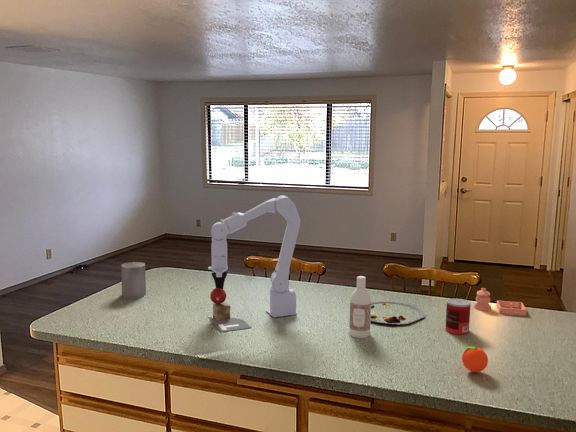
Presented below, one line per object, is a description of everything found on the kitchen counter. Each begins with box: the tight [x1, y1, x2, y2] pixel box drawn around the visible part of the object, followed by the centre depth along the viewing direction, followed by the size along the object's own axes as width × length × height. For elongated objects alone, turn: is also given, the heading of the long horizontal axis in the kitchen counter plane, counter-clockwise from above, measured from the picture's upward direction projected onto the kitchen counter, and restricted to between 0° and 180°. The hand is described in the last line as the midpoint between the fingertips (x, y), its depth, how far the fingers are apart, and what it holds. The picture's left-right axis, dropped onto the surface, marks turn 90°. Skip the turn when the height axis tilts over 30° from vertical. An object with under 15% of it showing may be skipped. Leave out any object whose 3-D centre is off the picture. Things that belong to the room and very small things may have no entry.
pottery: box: [473, 287, 527, 317], centre depth 192 cm, size 18×10×10 cm, turn 74°
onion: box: [209, 287, 227, 304], centre depth 183 cm, size 6×6×8 cm
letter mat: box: [207, 317, 252, 333], centre depth 180 cm, size 11×18×1 cm, turn 24°
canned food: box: [445, 297, 471, 336], centre depth 171 cm, size 8×8×11 cm
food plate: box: [370, 300, 426, 326], centre depth 188 cm, size 25×23×4 cm
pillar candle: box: [120, 261, 147, 299], centre depth 209 cm, size 10×10×15 cm
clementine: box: [458, 346, 489, 373], centre depth 142 cm, size 8×7×7 cm
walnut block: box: [212, 301, 231, 320], centre depth 184 cm, size 5×5×5 cm
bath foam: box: [348, 275, 372, 339], centre depth 168 cm, size 7×7×20 cm
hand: (219, 291), depth 185 cm, fingers closed, pressing on onion
